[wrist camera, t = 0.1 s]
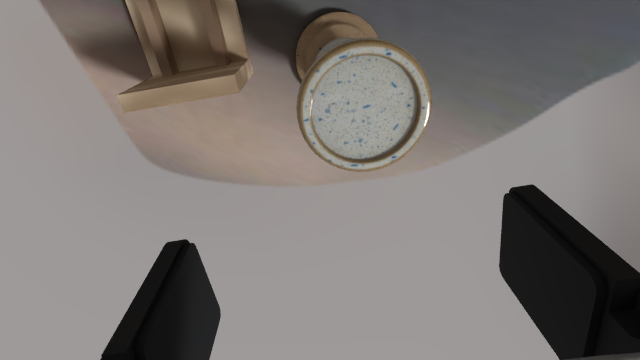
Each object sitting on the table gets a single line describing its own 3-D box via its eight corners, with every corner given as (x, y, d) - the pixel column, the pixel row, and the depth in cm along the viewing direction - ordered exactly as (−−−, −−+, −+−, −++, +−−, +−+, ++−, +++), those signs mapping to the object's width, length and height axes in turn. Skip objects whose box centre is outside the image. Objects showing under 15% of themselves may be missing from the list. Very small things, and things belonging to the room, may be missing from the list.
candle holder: (394, 70, 39) (469, 134, 21) (324, 114, 41) (337, 207, 23) (353, -8, 36) (400, -11, 18) (278, 43, 38) (253, 88, 20)
